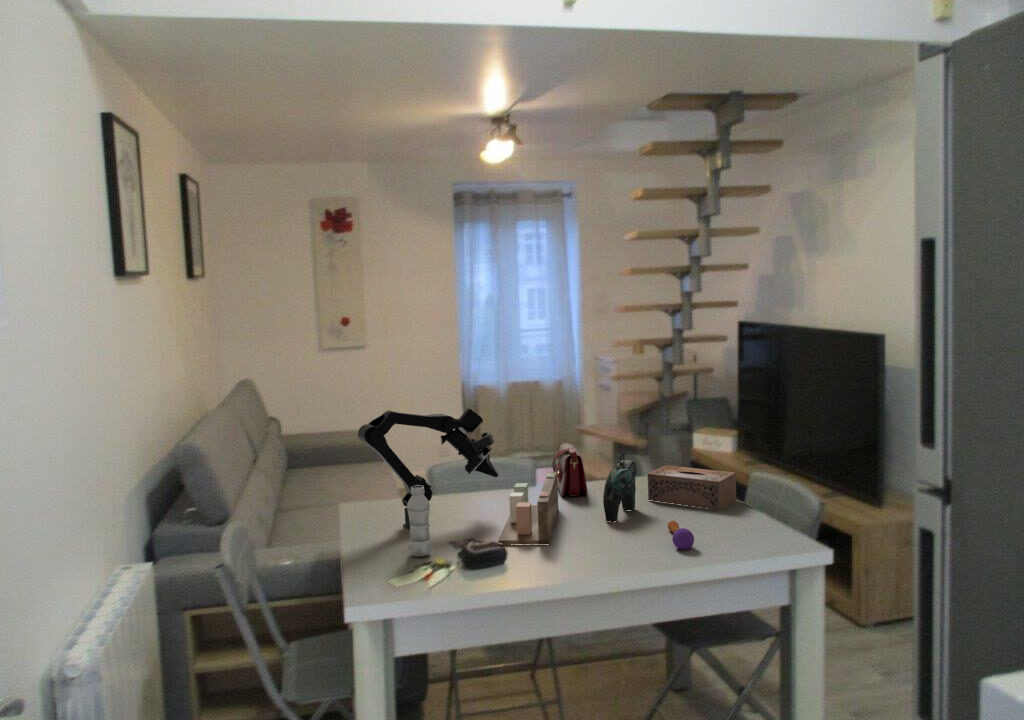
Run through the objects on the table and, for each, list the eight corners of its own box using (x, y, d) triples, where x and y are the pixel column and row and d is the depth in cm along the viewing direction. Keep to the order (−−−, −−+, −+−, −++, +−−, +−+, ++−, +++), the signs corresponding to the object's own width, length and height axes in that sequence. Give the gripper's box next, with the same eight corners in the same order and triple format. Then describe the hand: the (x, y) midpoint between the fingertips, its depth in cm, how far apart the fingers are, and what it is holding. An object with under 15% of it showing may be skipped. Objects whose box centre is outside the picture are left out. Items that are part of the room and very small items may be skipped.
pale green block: (515, 512, 262) (514, 486, 262) (516, 508, 267) (515, 483, 266) (527, 512, 262) (526, 486, 261) (528, 508, 266) (527, 483, 266)
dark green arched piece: (624, 506, 270) (623, 448, 269) (642, 508, 267) (641, 449, 265) (600, 522, 253) (598, 460, 252) (619, 524, 250) (617, 461, 248)
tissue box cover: (648, 502, 276) (647, 473, 275) (666, 492, 288) (666, 465, 287) (719, 511, 261) (719, 481, 260) (736, 501, 272) (735, 472, 271)
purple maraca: (684, 517, 242) (697, 532, 222) (681, 537, 242) (694, 553, 222) (664, 514, 242) (676, 529, 222) (661, 534, 242) (672, 550, 222)
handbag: (551, 481, 310) (549, 437, 309) (578, 480, 311) (577, 436, 309) (559, 500, 282) (557, 451, 281) (588, 498, 283) (587, 450, 281)
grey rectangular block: (510, 522, 250) (509, 496, 250) (512, 518, 255) (511, 492, 254) (523, 522, 250) (522, 496, 249) (524, 518, 254) (523, 492, 254)
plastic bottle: (420, 550, 233) (417, 483, 231) (437, 554, 228) (433, 485, 227) (404, 556, 228) (400, 487, 226) (420, 561, 223) (417, 490, 222)
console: (498, 545, 234) (496, 500, 233) (514, 509, 272) (512, 470, 271) (549, 545, 232) (547, 500, 231) (558, 509, 270) (557, 470, 269)
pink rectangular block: (517, 534, 238) (516, 506, 237) (519, 529, 243) (517, 502, 242) (530, 534, 238) (529, 506, 237) (532, 529, 242) (530, 502, 241)
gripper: (472, 431, 252) (509, 465, 251) (484, 421, 270) (518, 452, 269) (449, 456, 254) (486, 490, 253) (462, 444, 272) (496, 475, 271)
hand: (497, 476), depth 261 cm, fingers closed
